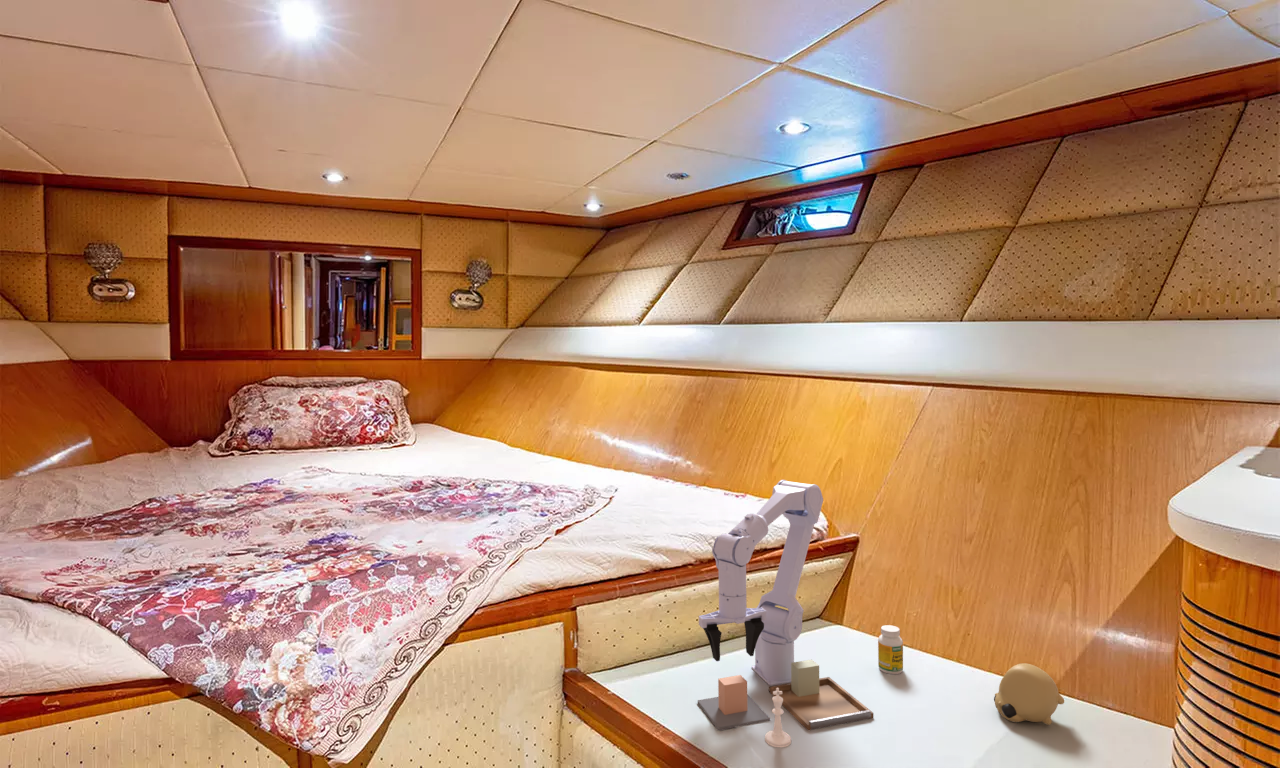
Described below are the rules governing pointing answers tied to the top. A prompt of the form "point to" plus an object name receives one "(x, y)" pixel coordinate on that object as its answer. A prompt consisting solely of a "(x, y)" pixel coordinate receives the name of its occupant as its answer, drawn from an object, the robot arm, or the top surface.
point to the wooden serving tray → (823, 705)
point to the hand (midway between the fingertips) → (733, 656)
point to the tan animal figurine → (1027, 695)
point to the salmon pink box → (732, 694)
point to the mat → (735, 719)
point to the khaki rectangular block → (805, 678)
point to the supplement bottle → (890, 650)
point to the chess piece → (777, 725)
